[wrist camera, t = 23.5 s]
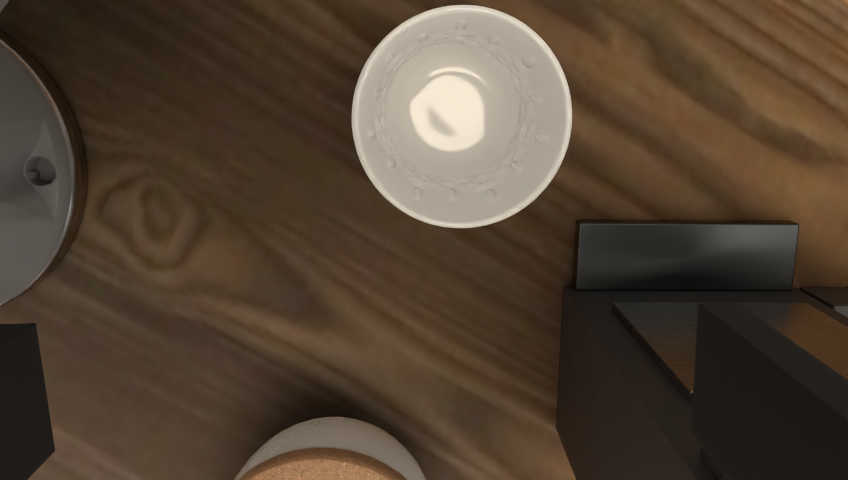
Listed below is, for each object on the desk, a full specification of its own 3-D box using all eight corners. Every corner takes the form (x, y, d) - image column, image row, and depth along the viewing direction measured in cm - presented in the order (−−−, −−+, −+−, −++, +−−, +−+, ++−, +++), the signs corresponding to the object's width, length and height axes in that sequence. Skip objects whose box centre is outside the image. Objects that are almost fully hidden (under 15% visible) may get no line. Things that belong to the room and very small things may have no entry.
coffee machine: (780, 432, 40) (1243, 884, 17) (552, 432, 40) (723, 885, 17) (805, 220, 37) (1384, 431, 15) (562, 219, 37) (776, 429, 15)
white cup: (441, -10, 35) (450, -46, 25) (563, 99, 36) (618, 106, 26) (336, 119, 36) (306, 133, 26) (458, 221, 37) (472, 271, 27)
